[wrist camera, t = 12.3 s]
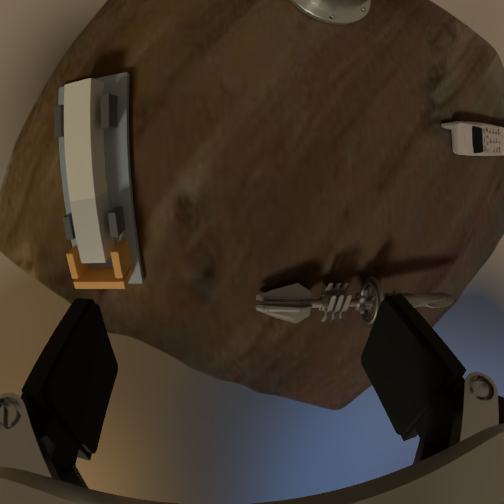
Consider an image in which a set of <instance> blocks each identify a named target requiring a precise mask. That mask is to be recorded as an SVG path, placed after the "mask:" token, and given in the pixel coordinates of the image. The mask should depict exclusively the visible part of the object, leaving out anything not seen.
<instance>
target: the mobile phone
mask: <svg viewBox="0 0 504 504" xmlns="http://www.w3.org/2000/svg"><path fill="white" fill-rule="evenodd" d="M441 126H442V128H446V129H451V135H452V150H453V152H454V153H455V154H458V155H468V156H472V155H474V156H495V155H504V128H503V127H499V126H495V125H492V124H487V123H480V122H470V121H453V122H450V123H442V124H441Z"/></svg>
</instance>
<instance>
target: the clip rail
mask: <svg viewBox="0 0 504 504" xmlns="http://www.w3.org/2000/svg"><path fill="white" fill-rule="evenodd" d="M95 79H96V80H98V81H101V82H103V83H104V94H103V95H101V128H103V129H104V155H105V170H106V182H107V192H108V201H109V210H110V212H109V213H108V221H109V227H110V234H111V237H113V238H114V244H115V247H114V248H113V250H112V251H111V252H110V253H111V256H110V258H109V259H108V260H107V262H106V263H81V260H80V255H79V251H78V246H77V241H76V236H75V230H74V225H73V219H72V213H71V206H70V199H69V191H68V183H67V173H66V161H65V144H64V88H65V87H61V88H59V105H57V106H54V134H55V138H59V150H60V165H61V176H62V185H63V193H64V201H65V208H66V214H67V215H66V216H64V217H63V221H64V227H65V232H66V237H67V240H71V241H72V246H73V248H72V249H71V250H70V251H69V252H68V253H67V254H66V255H67V260H68V264H69V268H70V271H71V275H72V279H75V281H74V286H75V289H125V288H126V286H127V284H128V283H143V281H144V276H143V271H142V264H141V258H140V252H139V245H138V237H137V230H136V221H135V213H134V203H133V192H132V180H131V165H130V143H129V81H130V73H128V72H125V73H120V74H114V75H109V76H105V77H100V78H95Z"/></svg>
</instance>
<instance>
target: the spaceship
mask: <svg viewBox="0 0 504 504" xmlns="http://www.w3.org/2000/svg"><path fill="white" fill-rule="evenodd" d="M372 281H373V282H374V283H375V284H374V283H373V282H372ZM348 284H349V283H345V284H344V285H343V287H342V288H340V285H341V283H337V284H336V286H335V287H334V288H333V283H329V285H328V287H327V288H326V285H322V293H323V294H321V295H322V297H320V299H318V300H314V299H311V291H309V290H308V289H306V288H305V287H303V286H302V285H300V284H299V283H295V284H292V285H288V286H285V287H281V288H277V289H274V290H270V291H268V292H267V293H263V294H260V295H257V296H256V299H257V300H259V301H257V302H262V304H256V305H258V306H256V310H257V311H260V312H263V313H266V314H267V315H269V316H272V317H275V318H279V319H282V320H285V321H289V322H292V323H295V324H296V323H298V322H300V321H301V320H303V319H305V318H306V317H308V316H310V308H319V310H323V311H326V313H324V314H325V315H324V317H323V319H322V320H321V322H325V320H326V319H327V320H328V324H332V320H333V319H334V318H335V322H336V324H340V319H341V318H342V320H343V323H344V324H347V323H348V322H347V315H346V313H347V310H348V307H355V310H359V312H360V313H361V318H362V321H363V323H364V325H365V326H366V327H367V328H369V329H372V327H373V324H374V321H375V318H376V315H377V312H378V309H379V306H380V303H381V302H382V301H383V300H384V299H385V297H386V296H389V295H403V296H404V297H405V298H406V299H407V300H408V301H409V302H410V304H411V305H412V306H413V307H414V308H416V307H422V306H428V307H431V308H439V307H447V306H450V305H451V304H452V303H453V302H454V298H453V297H452V296H451V295H449V294H446V293H427V294H426V295H414V294H409V293H401V290H399V289H396V290H394V291H393V293H390V294H389V293H388V292H387V293H386V294H385V293H384V294H383V290H382V287H381V284H380V282H379V281H378V279H376V278H375V277H369V278H367V279H366V280H365V282H364V284H363V286H362V290H361V294H360V293H357V294H356V298H355V299H353V300H351V297H352V296H348V297H347V296H342V295H343V292H344V290H345V289H346V287H347V285H348ZM373 290H374V291H373ZM329 291H330V293H329ZM371 291H372V293H374V296H373V297H372V296H371V295H372V294H371ZM336 292H337V294H336ZM370 310H371V311H372V313H373V314H372V315H371V313H370ZM331 313H333V314H331ZM339 314H340V315H339Z"/></svg>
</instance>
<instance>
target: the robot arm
mask: <svg viewBox="0 0 504 504" xmlns="http://www.w3.org/2000/svg"><path fill="white" fill-rule="evenodd" d="M290 1H291V2H292V3H293V4H294V5H295V6H296V7H297V8H298V9H300V10H301V11H302V12H304V13H305V14H307V15H309V16H311V17H313V18H314V19H317V20H320V21H322V22H326V23H330V24H337V25H344V24H351V23H355V22H356V21H358V20H360V19H362V18H363V17H364V16H365V15H366V14H367V13H368V11H369V9H370V6H371V0H290ZM330 18H331V19H330ZM361 363H362V366H363V368H364V370H365V372H366V374H367V375H368V377H369V379H370V381H371V383H372V385H373V387H374V389H375V391H376V393H377V395H378V396H379V399H380V401H381V403H382V405H383V407H384V409H385V411H386V413H387V415H388V417H389V419H390V421H391V423H392V425H393V427H394V429H395V431H396V433H397V434H399V435H401V437H402V439H403V441H405V440H408V439H411V438H413V437H416V436H417V434H418V435H419V437H420V441H419V445H418V449H417V452H416V455H415V459H414V462H413V465H411V466H408V467H406V468H403V469H401V470H398V471H396V472H393V473H390V474H388V475H385V476H382V477H379V478H376V479H373V480H370V481H367V482H364V483H361V484H357V485H354V486H351V487H346V488H343V489H339V490H335V491H331V492H326V493H322V494H317V495H312V496H307V497H301V498H296V499H289V500H282V501H274V502H264V503H253V504H504V398H503V397H500V396H498V392H497V387H496V385H495V383H494V382H493V381H492V379H491V378H490V377H488V376H487V375H485V374H483V373H479V372H473V373H470V374H469V375H468V376H467V377H466V378H465V380H464V378H463V377H462V376H463V375H464V373H465V371H466V369H465V368H464V366H463V365H462V364H461V363H460V361H459V360H458V359H457V357H456V356H455V355H454V354H453V353H452V351H451V350H450V349H449V348H448V346H447V345H446V344H445V343H444V342H443V340H442V339H441V338H440V337H439V336H438V334H437V333H436V332H435V331H434V330H433V328H432V327H431V326H430V325H429V324H428V323H427V322H426V320H425V319H424V318H423V317H422V316H421V315H420V314H419V312H418V311H417V310H416V309H415V308H414V307H413V306H412V305H411V304H410V302H409V301H408V300H407V299H406V298H405V297H404V296H403V295H389V296H386V297H385V299H384V300H383V301H382V302H381V303H380V306H379V309H378V312H377V315H376V318H375V321H374V324H373V327H372V329H371V332H370V335H369V338H368V340H367V343H366V346H365V348H364V351H363V353H362V356H361ZM117 371H118V365H117V361H116V358H115V356H114V353H113V350H112V347H111V344H110V341H109V337H108V334H107V331H106V328H105V324H104V321H103V318H102V314H101V310H100V307H99V305H98V304H95V302H94V301H93V300H92V299H81V298H77V299H75V300H74V302H73V303H72V305H71V306H70V308H69V309H68V311H67V312H66V314H65V315H64V317H63V318H62V320H61V321H60V323H59V325H58V326H57V328H56V329H55V331H54V333H53V334H52V336H51V338H50V339H49V341H48V343H47V344H46V346H45V348H44V349H43V351H42V353H41V355H40V356H39V358H38V360H37V362H36V364H35V365H34V367H33V369H32V371H31V373H30V375H29V377H28V379H27V380H26V382H25V384H24V386H23V388H22V392H23V393H22V396H21V398H20V397H19V396H18V395H16V394H13V393H5V394H1V395H0V504H177V503H165V502H156V501H148V500H141V499H135V498H129V497H124V496H118V495H113V494H108V493H104V492H100V491H95V490H91V489H89V488H88V487H87V485H86V483H85V481H84V480H83V478H82V476H81V475H80V473H79V471H78V469H77V467H76V465H75V463H76V459H77V457H79V458H83V459H87V460H90V459H91V454H92V453H95V452H96V450H97V447H98V442H99V438H100V433H101V430H102V425H103V421H104V418H105V414H106V410H107V407H108V403H109V399H110V396H111V392H112V389H113V385H114V382H115V379H116V375H117Z"/></svg>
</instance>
